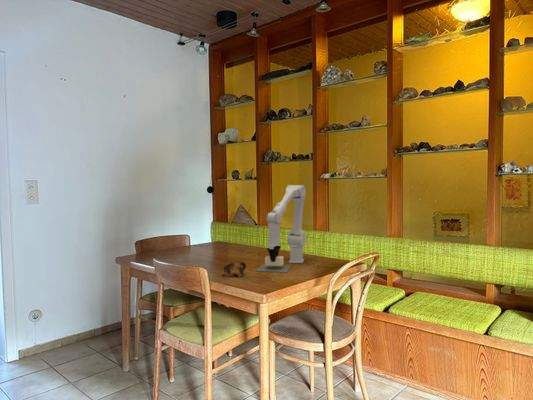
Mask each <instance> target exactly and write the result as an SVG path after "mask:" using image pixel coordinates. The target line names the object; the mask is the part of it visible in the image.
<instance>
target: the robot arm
mask: <svg viewBox="0 0 533 400" xmlns="http://www.w3.org/2000/svg"><path fill="white" fill-rule="evenodd" d="M306 191H307V189H306V188H305V185H303V184H301V185H300V184H298V185H297V184H294V185H293V184H287V186H286V188H285V194H284V196H283V197H282V200H281V201H279V202H277V203H276V205H275V206H274V208H273V209H272V211H270V212H269V213H267V215H266V218H265V220H266V222H267V226H268V242H267V243H266V245H268V247H267V248H266V249H267V252H268V254H269V255H268V256H270V259H271V262H275V260H276V256H279V253H280V250H281V247H282V245H281V244H280V240H281V239H280V237H281V234H280V231H281V229H280V223H282V220H283V217H284V213H285V212H286V210H288V209H287V206H288V204H289V203H290V202H291V200H293V202H294V208H293V217H292V218H293V219H292V229H290V230H289V231H288V235H287V239H286V242H287V244H288V246H289V247H290V248H289V255H290V256H289V260H288V263H289V264H291V263H293V264H303V263H304V261H305V258H303V257H304V250H303V249H304V247H305V245H306V243H307V237H306V233H305V232H304V230H303V229H302V228H303V215H304V205H305V203H304V202H305V200H306V193H307V192H306Z"/></svg>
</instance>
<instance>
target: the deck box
mask: <svg viewBox="0 0 533 400" xmlns="http://www.w3.org/2000/svg"><path fill="white" fill-rule="evenodd" d="M284 260H285V259H284V256H283V255H282V256H279V255H278V256H276V260H275V262H271V259H270V255H266V256H265V257H264V264H265V265H272V266H282V265H285V264H284V262H285V261H284Z"/></svg>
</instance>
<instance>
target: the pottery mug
mask: <svg viewBox="0 0 533 400" xmlns="http://www.w3.org/2000/svg"><path fill="white" fill-rule="evenodd" d="M234 267H235V268H236V269H237V270H238V271H239V272H237V273H236V275H237V278H241V277H243V276H245V274H244V271H245V270H246V269H247V264H246V263H245V262H244V261H240V262H238V261H237V260H234V261H232V262H230V263H228V264H227V265H225V266H223V269H224V270H223V273H227V274H228V275H230V274H231V273H232V270H233V269H234Z"/></svg>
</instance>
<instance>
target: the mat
mask: <svg viewBox="0 0 533 400" xmlns="http://www.w3.org/2000/svg"><path fill="white" fill-rule="evenodd" d="M292 267H293V266H292V265H290V264H283V265H282V266H272V265H265V263H262V264H261V266H259V267H258V268H257V269H256V270H255V272H262V273H263V272H264V273H281V274H286V273H288V271H290V269H291V268H292Z"/></svg>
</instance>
